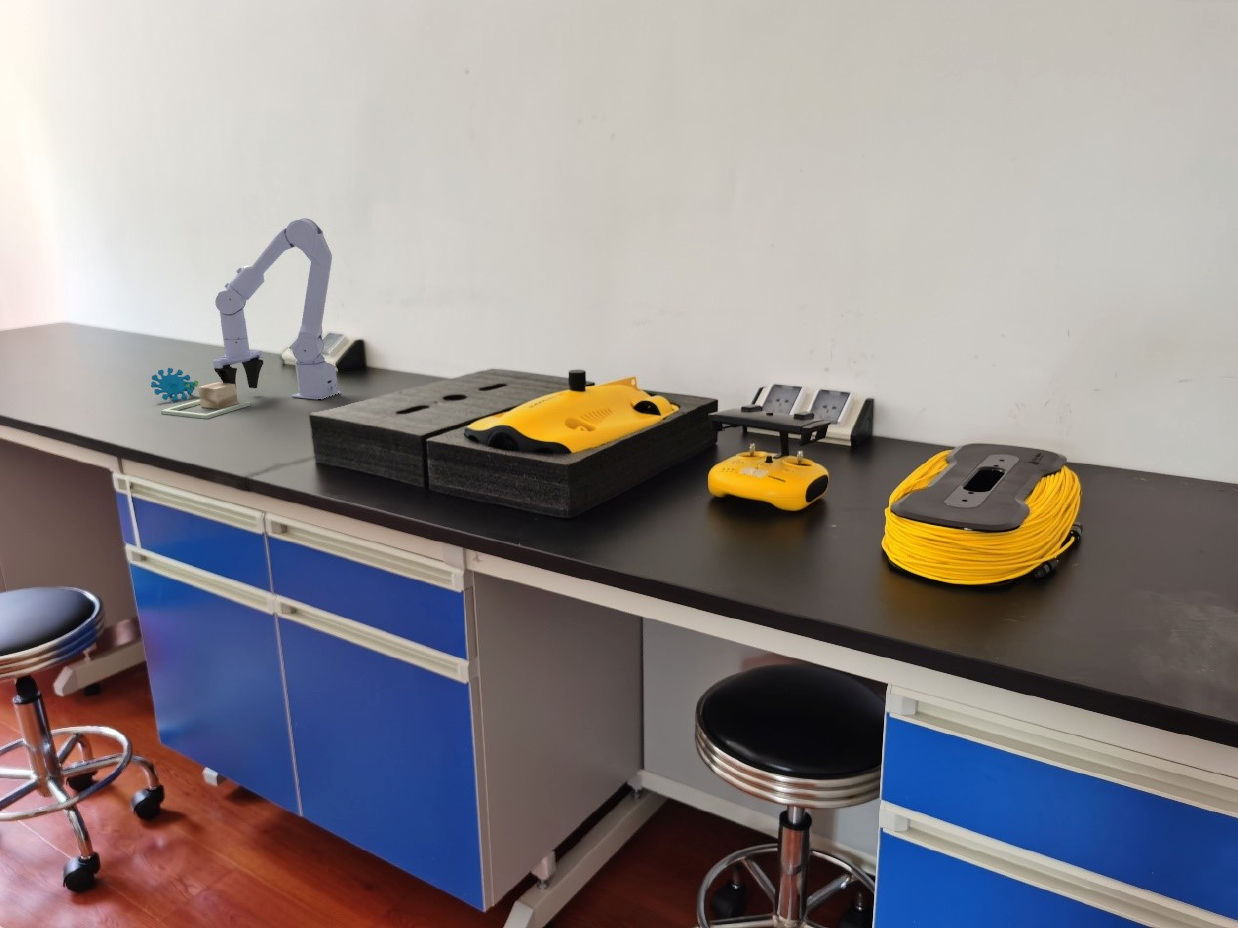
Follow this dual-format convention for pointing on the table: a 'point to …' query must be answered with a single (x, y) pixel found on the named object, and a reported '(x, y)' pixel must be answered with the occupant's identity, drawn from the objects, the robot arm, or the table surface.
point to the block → (218, 395)
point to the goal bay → (199, 415)
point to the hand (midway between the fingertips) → (242, 390)
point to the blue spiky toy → (173, 384)
